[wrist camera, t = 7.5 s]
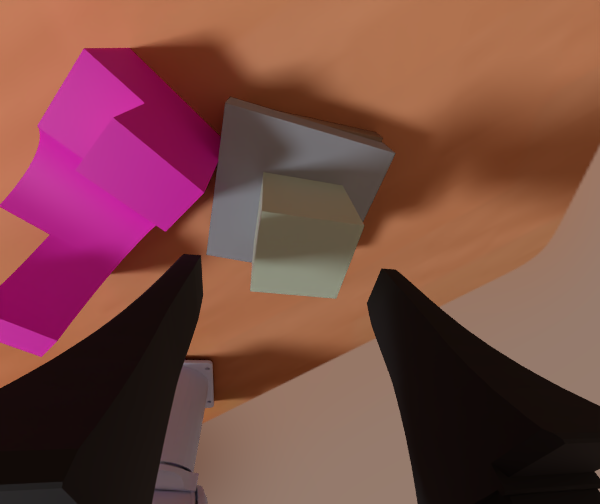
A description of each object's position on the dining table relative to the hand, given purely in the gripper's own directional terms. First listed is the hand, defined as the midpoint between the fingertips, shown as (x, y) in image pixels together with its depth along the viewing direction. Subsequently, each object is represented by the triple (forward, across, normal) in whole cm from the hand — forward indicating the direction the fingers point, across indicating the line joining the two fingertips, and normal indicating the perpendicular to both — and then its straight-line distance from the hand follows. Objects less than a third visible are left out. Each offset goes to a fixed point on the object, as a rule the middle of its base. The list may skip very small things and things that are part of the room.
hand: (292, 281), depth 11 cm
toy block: (+10, +11, +2) cm, 15 cm away
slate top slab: (+8, 0, 0) cm, 8 cm away
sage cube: (+6, -1, 0) cm, 6 cm away
